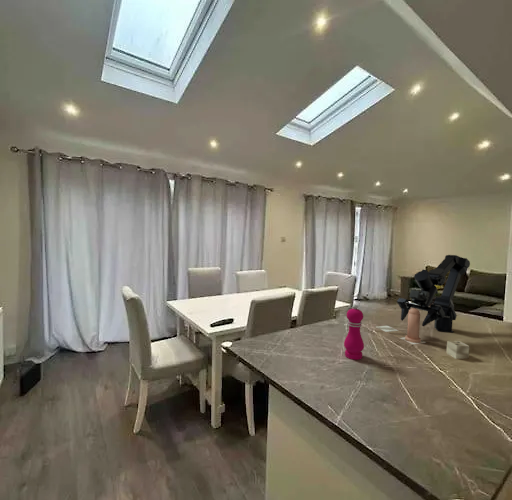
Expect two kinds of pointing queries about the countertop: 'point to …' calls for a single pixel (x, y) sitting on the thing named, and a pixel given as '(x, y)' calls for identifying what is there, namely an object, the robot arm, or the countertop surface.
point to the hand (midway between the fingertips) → (411, 322)
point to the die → (457, 350)
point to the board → (396, 333)
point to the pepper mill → (354, 334)
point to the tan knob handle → (413, 326)
